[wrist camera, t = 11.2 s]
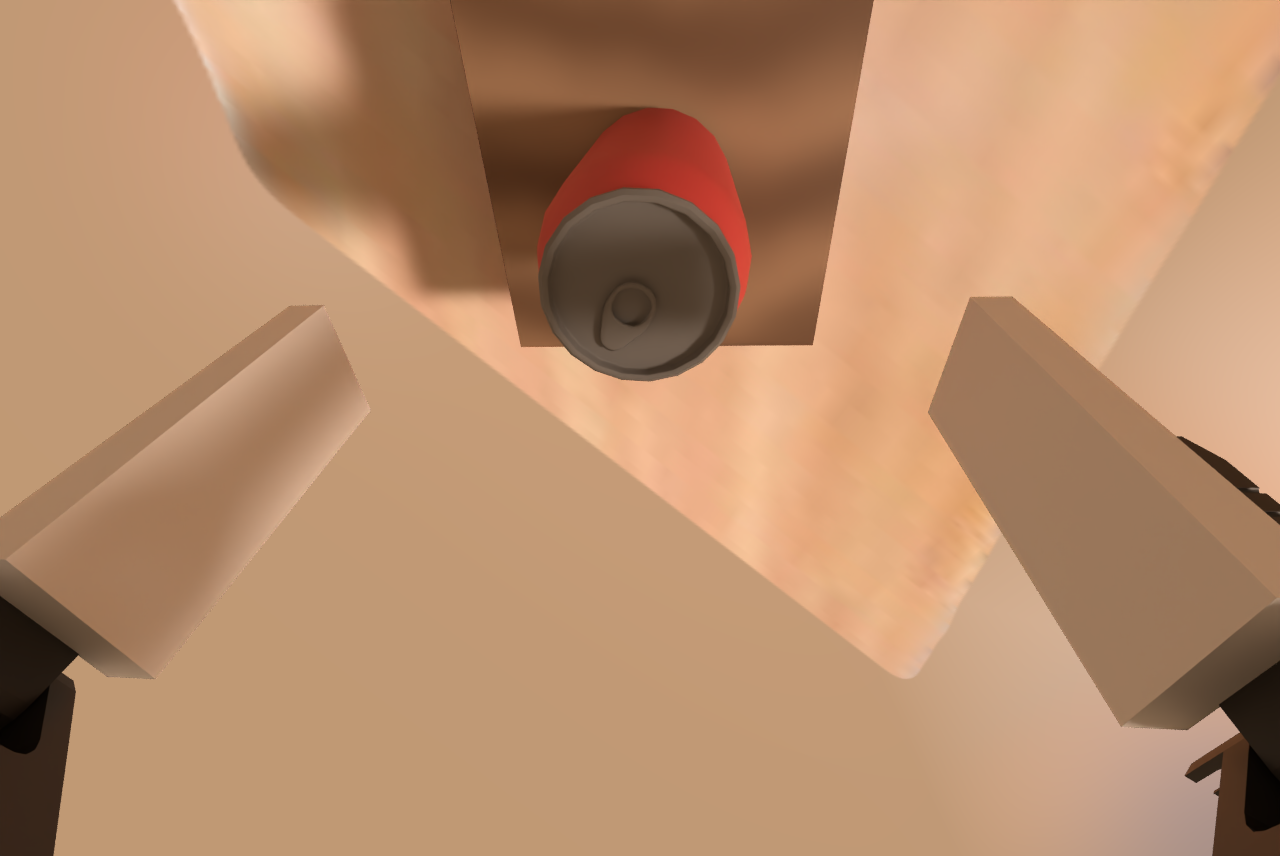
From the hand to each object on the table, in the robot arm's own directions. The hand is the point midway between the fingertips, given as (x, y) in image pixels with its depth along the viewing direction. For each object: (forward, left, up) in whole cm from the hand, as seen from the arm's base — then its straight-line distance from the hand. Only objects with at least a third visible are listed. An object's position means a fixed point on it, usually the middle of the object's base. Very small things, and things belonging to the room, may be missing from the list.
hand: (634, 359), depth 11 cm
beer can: (0, 0, -16) cm, 16 cm away
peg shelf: (0, 0, -23) cm, 23 cm away
